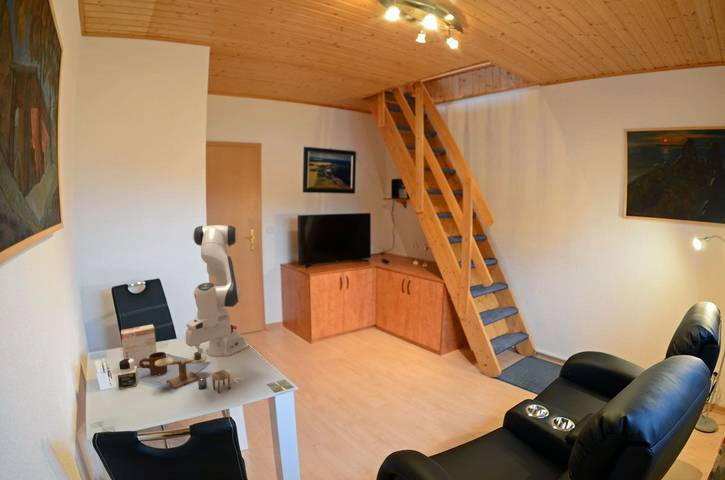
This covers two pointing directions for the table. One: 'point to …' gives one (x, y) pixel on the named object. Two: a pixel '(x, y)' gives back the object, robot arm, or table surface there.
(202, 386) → the grey domed cylinder
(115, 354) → the table surface
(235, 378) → the beige angular frame
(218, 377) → the tan peg block
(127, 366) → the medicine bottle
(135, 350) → the coffeecake box
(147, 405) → the table surface
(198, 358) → the balance
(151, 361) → the mug
